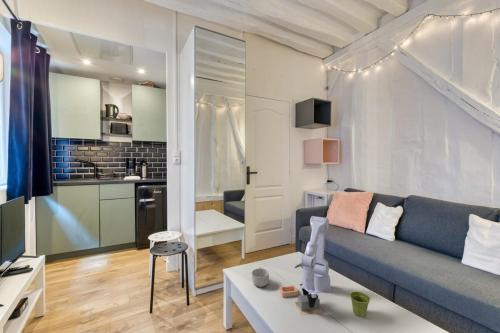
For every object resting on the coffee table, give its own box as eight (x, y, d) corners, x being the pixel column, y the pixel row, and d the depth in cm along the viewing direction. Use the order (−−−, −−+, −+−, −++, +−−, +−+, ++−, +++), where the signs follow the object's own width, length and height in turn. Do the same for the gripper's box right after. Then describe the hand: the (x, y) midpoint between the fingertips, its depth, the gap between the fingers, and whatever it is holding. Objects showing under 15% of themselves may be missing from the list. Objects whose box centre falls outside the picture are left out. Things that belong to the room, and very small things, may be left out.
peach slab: (294, 290, 136) (294, 285, 136) (297, 296, 130) (297, 291, 130) (279, 291, 135) (279, 286, 135) (282, 298, 129) (282, 292, 129)
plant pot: (352, 304, 122) (352, 288, 122) (371, 311, 116) (372, 295, 116) (347, 314, 115) (347, 297, 115) (367, 322, 109) (367, 305, 109)
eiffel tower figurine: (319, 268, 161) (319, 250, 161) (314, 275, 153) (314, 255, 153) (299, 263, 171) (299, 245, 170) (293, 268, 162) (293, 250, 162)
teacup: (267, 290, 136) (267, 277, 136) (250, 288, 139) (250, 275, 138) (270, 277, 150) (270, 266, 150) (254, 276, 152) (254, 264, 152)
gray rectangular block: (315, 302, 124) (315, 294, 123) (319, 309, 119) (319, 299, 118) (298, 304, 122) (298, 296, 122) (301, 311, 117) (301, 302, 117)
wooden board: (315, 300, 126) (315, 299, 126) (323, 312, 116) (323, 312, 116) (294, 302, 125) (294, 302, 125) (301, 315, 115) (301, 314, 115)
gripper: (296, 271, 126) (296, 294, 127) (306, 286, 112) (306, 312, 112) (308, 270, 127) (308, 293, 128) (320, 284, 113) (320, 311, 113)
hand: (308, 302), depth 120 cm, fingers open, 7 cm apart
